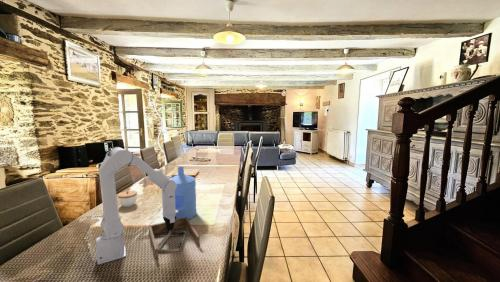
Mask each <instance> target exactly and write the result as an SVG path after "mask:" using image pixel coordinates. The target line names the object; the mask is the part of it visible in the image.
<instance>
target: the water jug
mask: <svg viewBox="0 0 500 282" xmlns="http://www.w3.org/2000/svg"><path fill="white" fill-rule="evenodd" d="M184 168H185V167H184V166H178V167H177V175H174V176H172V177H170V178H169V179H171V180H173V181H174V182H175V184H176V185H177V188H176V190H175V209H176V210H178V213H176V215H175V216H176V219H179V218H183V217H187V218H188V220H191V219H192V218H194V217H195V216H196V215H197V192H196V186H197V185H196V183H197V182H196V178H195V177H194V176H191V175H188V174H185V172H184V171H185V170H184Z"/></svg>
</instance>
